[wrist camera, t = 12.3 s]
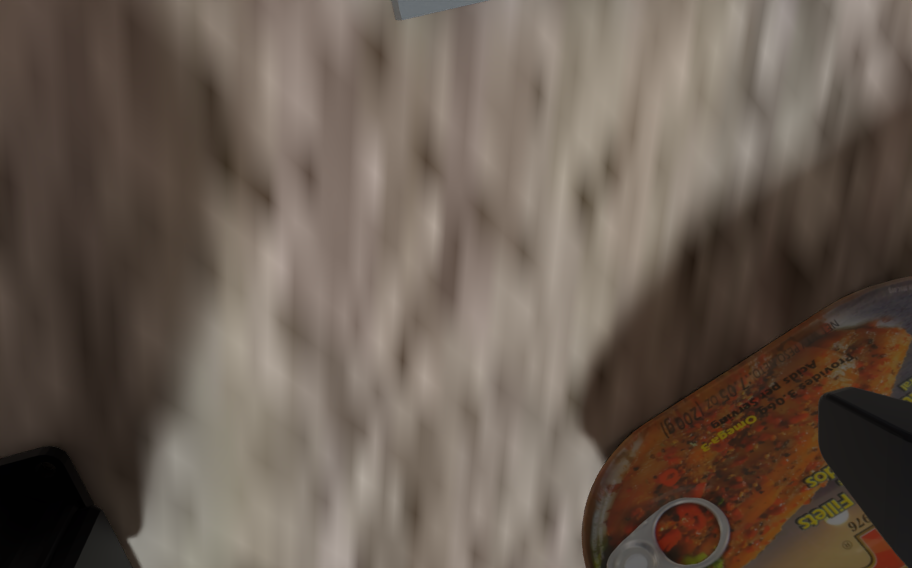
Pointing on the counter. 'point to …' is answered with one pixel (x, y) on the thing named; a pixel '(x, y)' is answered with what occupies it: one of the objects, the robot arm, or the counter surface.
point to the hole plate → (425, 7)
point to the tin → (756, 455)
